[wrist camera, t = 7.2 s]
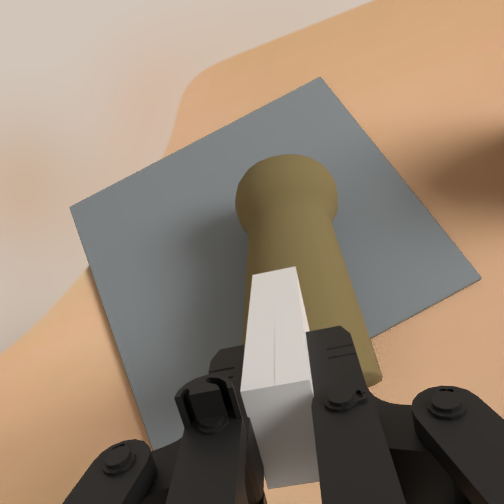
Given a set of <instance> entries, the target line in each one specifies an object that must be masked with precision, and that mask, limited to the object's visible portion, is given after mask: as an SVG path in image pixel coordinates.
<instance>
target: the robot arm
mask: <svg viewBox="0 0 504 504" xmlns="http://www.w3.org/2000/svg"><path fill="white" fill-rule="evenodd" d="M208 372H209V374H208V375H205V376H201V377H198V378H195V379H193V380H191V381H190V382H188V383H186V384H185V385H184V386H183V387H181V388H180V389H179V390H178V392H177V393H176V395H175V397H174V399H175V402H176V405H177V408H178V411H179V414H180V417H181V420H182V422H183V425H184V432H183V436H182V438H180V439H179V440H177V441H175V442H173V443H171V444H169V445H166V446H164V447H162V448H159V449H157V450H154V451H152V452H151V451H150V448H149V446H148V445H147V444H146V443H145V442H144V441H140V440H136V439H134V440H126V441H122V442H120V443H117V444H115V445H112V446H111V447H109V448H108V449H106V450H105V451H103V452H102V453H101V454H100V455H99V456H98V457H97V458H96V459H95V460H94V461H93V463H92V464H91V466H90V467H89V468H88V470H87V471H86V472H85V474H84V475H83V476H82V478H81V479H80V480H79V482H78V483H77V484H76V486H75V487H74V489H73V490H72V491H71V493H70V494H69V495H68V497H67V498H66V499H65V501H64V502H63V503H62V504H267V500H266V497H265V494H264V490H263V488H264V476H265V480H266V483H267V487H268V489H272V488H279V487H286V486H292V485H299V484H306V483H312V482H319V481H320V489H321V498H322V504H504V419H502V418H501V417H500V416H499V415H498V414H497V413H496V412H495V411H493V410H492V409H491V408H490V407H489V406H488V405H487V404H486V403H484V402H483V401H482V400H481V399H480V398H479V397H478V396H476V395H475V394H473V393H471V392H470V391H468V390H466V389H462V388H458V387H455V386H438V387H432V388H428V389H426V390H424V391H422V392H420V393H419V394H418V395H417V396H416V397H415V398H414V400H413V402H412V405H400V404H393V403H388V402H385V401H382V400H380V399H378V398H377V397H375V396H374V395H373V394H372V393H371V392H370V391H369V389H368V388H367V385H366V382H365V379H364V375H363V372H362V369H361V366H360V362H359V359H358V356H357V353H356V350H355V346H354V343H353V340H352V337H351V333H349V332H348V331H347V330H346V329H344V328H343V327H342V326H335V327H330V328H324V329H319V330H313V331H310V330H309V325H308V321H307V316H306V312H305V307H304V303H303V298H302V294H301V289H300V285H299V280H298V276H297V271H296V267H290V268H285V269H280V270H275V271H270V272H265V273H260V274H255V275H252V285H251V295H250V304H249V314H248V323H247V333H246V342H245V345H240V346H235V347H229V348H224V349H220V350H219V351H218V352H217V354H216V355H215V356H214V357H213V358H212V360H211V362H210V367H209V371H208Z"/></svg>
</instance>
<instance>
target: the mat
mask: <svg viewBox="0 0 504 504" xmlns="http://www.w3.org/2000/svg"><path fill="white" fill-rule="evenodd" d="M283 154H299V155H303V156H307V157H311V158H313V159H314V160H316V161H318V162H320V163H321V164H322V165H323V166H324V167H325V168H326V169H327V170H328V171H329V173H330V174H331V175H332V177H333V179H334V181H335V183H336V188H337V194H338V209H337V214H336V216H335V218H334V220H333V222H332V226H333V229H334V232H335V235H336V238H337V241H338V244H339V247H340V250H341V253H342V256H343V259H344V262H345V265H346V268H347V271H348V274H349V277H350V280H351V283H352V286H353V289H354V292H355V295H356V298H357V301H358V304H359V307H360V310H361V313H362V316H363V319H364V322H365V325H366V328H367V331H368V334H369V337H370V339H371V338H373V337H375V336H377V335H379V334H381V333H383V332H384V331H386V330H388V329H390V328H392V327H394V326H396V325H397V324H399V323H401V322H403V321H405V320H407V319H409V318H410V317H412V316H414V315H416V314H418V313H420V312H422V311H423V310H425V309H427V308H429V307H431V306H433V305H435V304H436V303H438V302H440V301H442V300H444V299H446V298H448V297H449V296H451V295H453V294H455V293H457V292H459V291H461V290H462V289H464V288H466V287H468V286H470V285H472V284H474V283H475V282H477V281H479V280H481V278H482V277H481V276H480V275H479V274H478V272H477V271H476V270H475V269H474V267H473V266H472V265H471V264H470V262H469V261H468V260H467V259H466V257H465V256H464V255H463V254H462V252H461V251H460V250H459V249H458V247H457V246H456V245H455V244H454V242H453V241H452V240H451V239H450V237H449V236H448V235H447V234H446V232H445V231H444V230H443V229H442V227H441V226H440V225H439V224H438V222H437V221H436V220H435V219H434V217H433V216H432V215H431V214H430V212H429V211H428V210H427V209H426V207H425V206H424V205H423V204H422V202H421V201H420V200H419V199H418V198H417V196H416V195H415V194H414V193H413V191H412V190H411V189H410V188H409V186H408V185H407V184H406V183H405V181H404V180H403V179H402V178H401V176H400V175H399V174H398V173H397V171H396V170H395V169H394V168H393V166H392V165H391V164H390V163H389V161H388V160H387V159H386V158H385V156H384V155H383V154H382V153H381V151H380V150H379V149H378V148H377V146H376V145H375V144H374V143H373V141H372V140H371V139H370V138H369V136H368V135H367V134H366V133H365V131H364V130H363V129H362V128H361V126H360V125H359V124H358V123H357V121H356V120H355V119H354V118H353V117H352V115H351V114H350V113H349V112H348V110H347V109H346V108H345V107H344V105H343V104H342V103H341V102H340V100H339V99H338V98H337V97H336V95H335V94H334V93H333V92H332V90H331V89H330V88H329V87H328V85H327V84H326V83H325V82H324V80H323V79H322V78H321V77H319V78H317V79H315V80H313V81H311V82H309V83H307V84H305V85H303V86H301V87H299V88H298V89H296V90H294V91H292V92H290V93H288V94H286V95H284V96H282V97H280V98H278V99H276V100H274V101H273V102H271V103H269V104H267V105H265V106H263V107H261V108H259V109H257V110H255V111H253V112H251V113H249V114H248V115H246V116H244V117H242V118H240V119H238V120H236V121H234V122H232V123H230V124H228V125H226V126H224V127H223V128H221V129H219V130H217V131H215V132H213V133H211V134H209V135H207V136H205V137H203V138H201V139H200V140H198V141H196V142H194V143H192V144H190V145H188V146H186V147H184V148H182V149H180V150H178V151H176V152H175V153H173V154H171V155H169V156H167V157H165V158H163V159H161V160H159V161H157V162H155V163H153V164H151V165H150V166H148V167H146V168H144V169H142V170H140V171H138V172H136V173H134V174H132V175H130V176H129V177H126V178H125V179H123V180H121V181H119V182H117V183H115V184H113V185H111V186H109V187H107V188H105V189H103V190H101V191H100V192H98V193H96V194H94V195H92V196H90V197H88V198H86V199H84V200H82V201H80V202H78V203H76V204H75V205H73V206H71V207H70V210H71V213H72V216H73V219H74V222H75V225H76V228H77V231H78V234H79V237H80V239H81V242H82V245H83V248H84V251H85V254H86V257H87V260H88V263H89V266H90V269H91V271H92V274H93V277H94V280H95V283H96V286H97V289H98V292H99V295H100V298H101V301H102V304H103V306H104V309H105V312H106V315H107V318H108V321H109V324H110V327H111V330H112V333H113V336H114V338H115V341H116V344H117V347H118V350H119V353H120V356H121V359H122V362H123V365H124V368H125V370H126V373H127V376H128V379H129V382H130V385H131V388H132V391H133V394H134V397H135V400H136V403H137V405H138V408H139V411H140V414H141V417H142V420H143V423H144V426H145V429H146V432H147V435H148V437H149V440H150V443H151V446H152V449H153V451H154V450H157V449H159V448H162V447H164V446H166V445H169V444H171V443H173V442H175V441H177V440H179V439H180V438H182V436H183V432H184V425H183V422H182V420H181V417H180V414H179V411H178V408H177V405H176V402H175V399H174V397H175V395H176V393H177V392H178V390H179V389H180V388H181V387H183V386H184V385H185V384H186V383H188V382H190V381H191V380H193V379H195V378H198V377H201V376H205V375H208V374H209V372H208V371H209V367H210V362H211V360H212V358H213V357H214V356H215V355H216V354H217V352H218V351H219V350H220V349H224V348H229V347H235V346H240V345H242V332H243V316H244V300H245V284H246V268H247V252H248V236H249V234H248V233H247V232H246V231H245V230H244V229H243V228H242V226H241V224H240V221H239V219H238V216H237V213H236V208H235V198H236V192H237V187H238V183H239V182H240V180H241V179H242V177H243V176H244V174H245V173H246V172H247V170H248V169H249V168H250V167H252V166H253V165H254V164H256V163H257V162H259V161H262V160H264V159H267V158H269V157H273V156H278V155H283Z"/></svg>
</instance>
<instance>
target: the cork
mask: <svg viewBox="0 0 504 504" xmlns="http://www.w3.org/2000/svg"><path fill="white" fill-rule="evenodd" d="M235 208H236V213H237V216H238V219H239V221H240V224H241V226H242V228H243V229H244V230H245V231H246V232H247V233H248V234H249V236H248V252H247V268H246V284H245V300H244V316H243V332H242V345H245V342H246V333H247V323H248V314H249V304H250V295H251V285H252V275H255V274H260V273H265V272H270V271H275V270H280V269H285V268H290V267H296V271H297V276H298V280H299V285H300V289H301V294H302V298H303V303H304V307H305V312H306V316H307V321H308V325H309V330H310V331H313V330H319V329H324V328H330V327H335V326H342V327H343V328H344V329H346V330H347V331H348V332H349V333H351V337H352V340H353V343H354V346H355V350H356V353H357V356H358V359H359V362H360V366H361V369H362V372H363V375H364V379H365V382H366V385H367V387H370V386H373V385H375V384H377V383H378V382H380V381H382V377H383V376H382V373H381V370H380V367H379V364H378V361H377V358H376V355H375V352H374V349H373V346H372V343H371V340H370V337H369V334H368V331H367V328H366V325H365V322H364V319H363V316H362V313H361V310H360V307H359V304H358V301H357V298H356V295H355V292H354V289H353V286H352V283H351V280H350V277H349V274H348V271H347V268H346V265H345V262H344V259H343V256H342V253H341V250H340V247H339V244H338V241H337V238H336V235H335V232H334V229H333V226H332V222H333V220H334V218H335V216H336V214H337V209H338V194H337V188H336V183H335V181H334V179H333V177H332V175H331V174H330V173H329V171H328V170H327V169H326V168H325V167H324V166H323V165H322V164H321V163H320V162H318V161H316V160H314V159H313V158H311V157H307V156H303V155H299V154H283V155H278V156H273V157H269V158H267V159H264V160H262V161H259V162H257V163H256V164H254V165H253V166H252V167H250V168H249V169H248V170H247V172H246V173H245V174H244V176H243V177H242V179H241V180H240V182H239V183H238V187H237V192H236V198H235Z"/></svg>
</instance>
